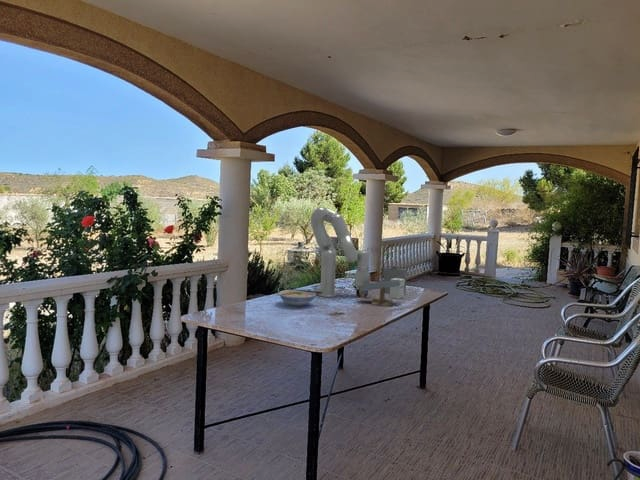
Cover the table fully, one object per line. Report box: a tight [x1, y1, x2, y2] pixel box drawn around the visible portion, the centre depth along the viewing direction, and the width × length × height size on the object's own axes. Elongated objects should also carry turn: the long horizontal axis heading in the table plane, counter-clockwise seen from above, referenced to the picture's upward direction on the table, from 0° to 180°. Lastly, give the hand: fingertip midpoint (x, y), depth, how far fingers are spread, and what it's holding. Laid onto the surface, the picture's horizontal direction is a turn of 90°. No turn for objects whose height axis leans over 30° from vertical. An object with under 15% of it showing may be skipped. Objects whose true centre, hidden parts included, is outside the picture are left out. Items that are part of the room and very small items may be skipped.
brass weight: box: [357, 286, 367, 298], centre depth 310 cm, size 5×5×7 cm
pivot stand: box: [371, 287, 393, 308], centre depth 292 cm, size 12×18×11 cm, turn 170°
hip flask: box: [383, 264, 408, 295], centre depth 326 cm, size 16×4×20 cm, turn 69°
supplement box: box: [389, 278, 405, 300], centre depth 311 cm, size 7×7×13 cm
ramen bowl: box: [278, 288, 322, 307], centre depth 279 cm, size 25×23×8 cm
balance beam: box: [358, 279, 400, 295], centre depth 292 cm, size 25×10×5 cm, turn 80°
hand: (362, 295), depth 311 cm, fingers closed on brass weight, 5 cm apart
